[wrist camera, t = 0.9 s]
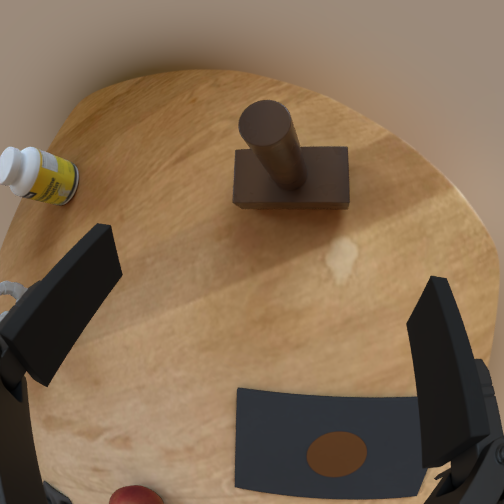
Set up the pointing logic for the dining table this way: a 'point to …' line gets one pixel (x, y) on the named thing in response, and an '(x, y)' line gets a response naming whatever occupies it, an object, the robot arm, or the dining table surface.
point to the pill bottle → (38, 175)
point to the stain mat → (328, 445)
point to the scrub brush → (286, 165)
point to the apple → (135, 496)
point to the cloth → (54, 495)
